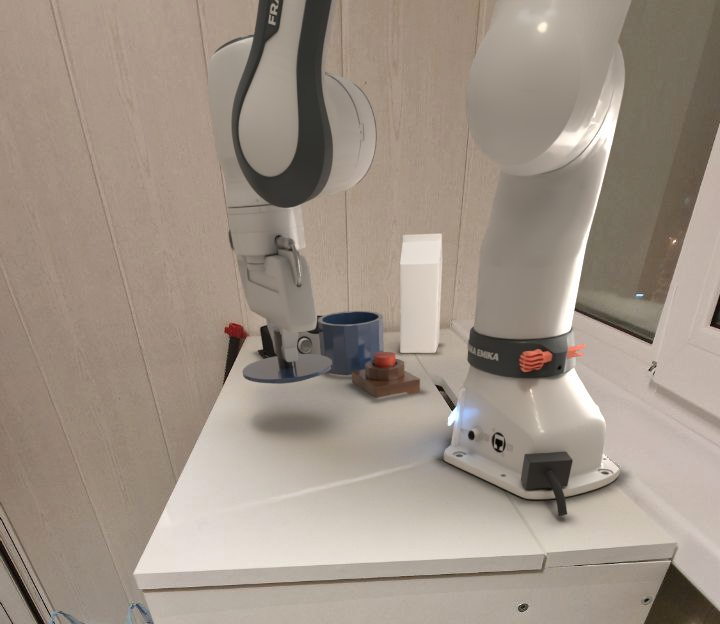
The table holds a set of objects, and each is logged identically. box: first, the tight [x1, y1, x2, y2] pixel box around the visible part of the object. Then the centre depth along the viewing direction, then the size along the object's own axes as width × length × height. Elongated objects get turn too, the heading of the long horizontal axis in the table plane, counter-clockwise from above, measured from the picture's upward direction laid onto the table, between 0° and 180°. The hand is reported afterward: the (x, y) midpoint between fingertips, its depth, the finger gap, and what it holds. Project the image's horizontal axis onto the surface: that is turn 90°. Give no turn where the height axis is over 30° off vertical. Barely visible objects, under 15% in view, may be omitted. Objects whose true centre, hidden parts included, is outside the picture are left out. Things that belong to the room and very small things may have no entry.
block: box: [351, 358, 421, 398], centre depth 93 cm, size 10×8×4 cm
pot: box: [318, 310, 385, 376], centre depth 102 cm, size 12×12×8 cm
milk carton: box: [399, 233, 444, 354], centre depth 107 cm, size 7×7×19 cm
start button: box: [374, 351, 397, 367], centre depth 92 cm, size 4×4×2 cm
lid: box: [241, 328, 333, 385], centre depth 76 cm, size 13×13×6 cm
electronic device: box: [257, 315, 323, 359], centre depth 113 cm, size 13×5×20 cm
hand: (286, 357), depth 76 cm, fingers closed on lid, 2 cm apart
